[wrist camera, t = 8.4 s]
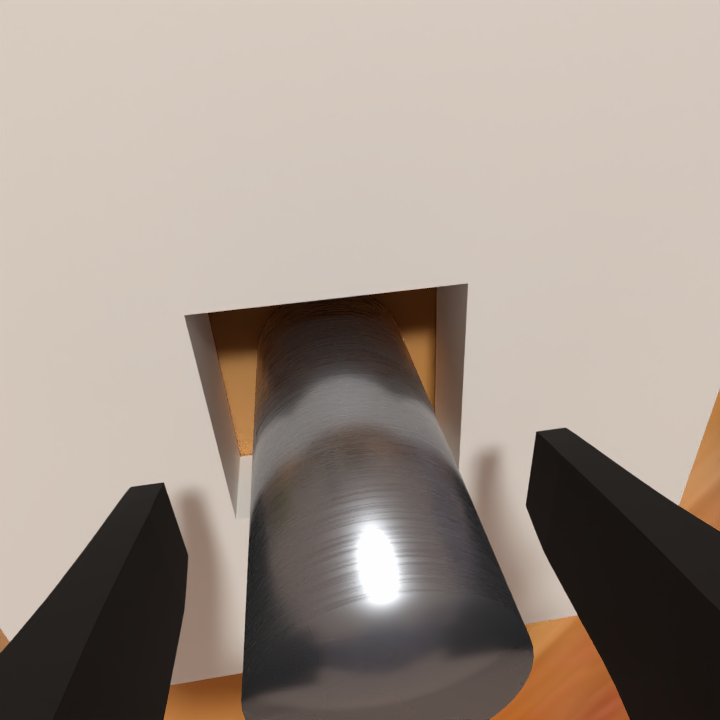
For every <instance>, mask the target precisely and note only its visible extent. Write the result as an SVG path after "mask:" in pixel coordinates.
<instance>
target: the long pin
mask: <svg viewBox="0 0 720 720" xmlns="http://www.w3.org/2000/svg"><path fill="white" fill-rule="evenodd" d="M533 658H534V655H533V645H532V642H531V639H530V636H529V634H528V632H527V629H526V627H525V625H524V622H523V620H522V618H521V615H520V613H519V610H518V608H517V606H516V603H515V601H514V599H513V596H512V594H511V592H510V589H509V587H508V585H507V582H506V580H505V578H504V575H503V573H502V570H501V568H500V566H499V563H498V561H497V559H496V556H495V554H494V552H493V549H492V547H491V545H490V542H489V540H488V538H487V535H486V533H485V530H484V528H483V526H482V523H481V521H480V519H479V516H478V514H477V512H476V509H475V507H474V505H473V502H472V500H471V498H470V495H469V493H468V490H467V488H466V486H465V483H464V481H463V479H462V476H461V474H460V472H459V469H458V467H457V465H456V462H455V460H454V458H453V455H452V453H451V450H450V448H449V446H448V443H447V441H446V439H445V436H444V434H443V432H442V429H441V427H440V425H439V422H438V420H437V417H436V415H435V413H434V410H433V408H432V406H431V403H430V401H429V399H428V396H427V394H426V392H425V389H424V387H423V385H422V382H421V380H420V377H419V375H418V373H417V370H416V368H415V366H414V363H413V361H412V359H411V356H410V354H409V352H408V349H407V347H406V345H405V342H404V340H403V337H402V335H401V333H400V330H399V328H398V326H397V324H396V322H395V320H394V318H393V317H392V315H391V314H390V313H389V311H388V310H387V309H386V308H385V307H384V306H383V305H382V304H380V303H379V302H378V301H376V300H375V299H373V298H371V297H370V296H368V295H360V296H351V297H342V298H333V299H325V300H316V301H307V302H298V303H289V304H283V305H282V306H281V307H280V308H279V309H277V310H276V311H275V312H274V313H273V315H272V316H271V317H270V318H269V320H268V321H267V323H266V325H265V326H264V328H263V330H262V333H261V335H260V339H259V343H258V351H257V370H256V392H255V414H254V436H253V458H252V480H251V501H250V523H249V545H248V567H247V589H246V611H245V632H244V654H243V676H242V698H241V702H242V711H243V714H244V717H245V719H246V720H489V719H490V718H492V717H493V716H495V715H496V714H497V713H498V712H500V711H501V710H502V709H503V708H505V707H506V706H507V705H508V704H509V703H510V702H511V701H512V700H513V699H514V698H515V696H516V695H517V694H518V692H519V691H520V690H521V689H522V687H523V686H524V684H525V682H526V680H527V679H528V677H529V674H530V671H531V669H532V664H533Z"/></svg>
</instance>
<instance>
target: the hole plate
mask: <svg viewBox="0 0 720 720" xmlns="http://www.w3.org/2000/svg"><path fill="white" fill-rule="evenodd" d="M431 287H437V317H436V374H435V415H436V417H437V420H438V422H439V425H440V427H441V429H442V432H443V434H444V436H445V439H446V441H447V443H448V446H449V448H450V450H451V453H452V455H453V458H454V460H455V462H456V465H457V467H458V469H459V472H460V474H461V476H462V479H463V481H464V483H465V486H466V488H467V490H468V493H469V495H470V498H471V500H472V502H473V505H474V507H475V509H476V512H477V514H478V516H479V519H480V521H481V523H482V526H483V528H484V530H485V533H486V535H487V538H488V540H489V542H490V545H491V547H492V549H493V552H494V554H495V556H496V559H497V561H498V563H499V566H500V568H501V570H502V573H503V575H504V578H505V580H506V582H507V585H508V587H509V589H510V592H511V594H512V596H513V599H514V601H515V603H516V606H517V608H518V610H519V613H520V615H521V618H522V620H523V622H524V624H530V623H535V622H541V621H547V620H553V619H559V618H564V617H570V616H576V615H577V613H576V611H575V609H574V607H573V605H572V604H571V602H570V600H569V598H568V596H567V594H566V593H565V591H564V589H563V587H562V585H561V583H560V582H559V580H558V578H557V576H556V574H555V572H554V570H553V569H552V567H551V565H550V563H549V561H548V559H547V557H546V555H545V553H544V551H543V549H542V546H541V544H540V541H539V539H538V537H537V534H536V532H535V529H534V526H533V524H532V521H531V519H530V516H529V513H528V511H527V508H526V499H527V492H528V485H529V478H530V471H531V464H532V457H533V450H534V443H535V436H536V431H544V430H551V429H558V428H567V429H569V430H570V431H572V432H573V433H575V434H576V435H578V436H579V437H581V438H582V439H583V440H585V441H586V442H588V443H589V444H591V445H592V446H593V447H595V448H596V449H598V450H599V451H600V452H602V453H603V454H605V455H606V456H607V457H609V458H610V459H611V460H613V461H614V462H616V463H617V464H619V465H620V466H621V467H623V468H624V469H626V470H627V471H628V472H630V473H631V474H633V475H634V476H636V477H637V478H638V479H640V480H641V481H643V482H644V483H646V484H647V485H648V486H650V487H651V488H653V489H654V490H656V491H657V492H659V493H660V494H662V495H663V496H665V497H666V498H668V499H669V500H671V501H672V502H674V503H675V504H677V505H678V506H679V503H680V501H681V498H682V495H683V492H684V489H685V486H686V483H687V481H688V478H689V475H690V472H691V469H692V466H693V463H694V461H695V458H696V455H697V452H698V449H699V446H700V443H701V440H702V438H703V435H704V432H705V429H706V426H707V423H708V420H709V418H710V415H711V412H712V409H713V406H714V403H715V400H716V398H717V395H718V392H719V389H720V0H0V628H1V630H2V631H3V633H4V634H5V636H6V637H7V639H8V640H9V642H10V641H11V640H12V639H13V638H14V637H15V635H16V634H17V633H18V632H19V631H20V629H21V628H22V627H23V626H24V625H25V623H26V622H27V621H28V620H29V619H30V617H31V616H32V615H33V614H34V613H35V611H36V610H37V609H38V608H39V607H40V605H41V604H42V603H43V602H44V601H45V599H46V598H47V597H48V596H49V594H50V593H51V592H52V591H53V589H54V588H55V587H56V585H57V584H58V583H59V582H60V580H61V579H62V578H63V576H64V575H65V574H66V572H67V571H68V570H69V569H70V567H71V566H72V565H73V563H74V562H75V561H76V559H77V558H78V557H79V556H80V554H81V553H82V552H83V550H84V549H85V547H86V546H87V545H88V543H89V542H90V541H91V539H92V538H93V537H94V535H95V534H96V533H97V531H98V530H99V528H100V527H101V526H102V524H103V523H104V522H105V520H106V519H107V517H108V516H109V515H110V513H111V512H112V510H113V509H114V508H115V506H116V505H117V504H118V502H119V501H120V499H121V498H122V497H123V495H124V494H125V493H126V492H127V490H128V489H129V488H130V487H133V486H141V485H148V484H155V483H163V482H164V484H165V487H166V490H167V493H168V496H169V499H170V502H171V505H172V508H173V511H174V514H175V517H176V520H177V523H178V526H179V529H180V532H181V535H182V538H183V541H184V544H185V547H186V550H187V553H188V571H187V587H186V599H185V610H184V615H183V621H182V626H181V632H180V637H179V642H178V647H177V653H176V658H175V663H174V668H173V673H172V678H171V683H170V685H176V684H181V683H187V682H193V681H199V680H205V679H210V678H216V677H222V676H228V675H234V674H239V673H243V654H244V632H245V611H246V589H247V567H248V545H249V523H250V501H251V480H252V458H253V455H249V456H241V457H240V453H239V448H238V444H237V439H236V435H235V431H234V426H233V422H232V417H231V413H230V409H229V404H228V400H227V396H226V391H225V387H224V382H223V378H222V374H221V369H220V365H219V360H218V356H217V352H216V347H215V343H214V338H213V334H212V330H211V325H210V321H209V317H208V313H209V312H218V311H227V310H236V309H245V308H254V307H262V306H271V305H280V304H289V303H298V302H307V301H316V300H325V299H333V298H342V297H351V296H360V295H369V294H378V293H387V292H396V291H404V290H413V289H422V288H431Z"/></svg>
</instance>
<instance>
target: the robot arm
mask: <svg viewBox="0 0 720 720" xmlns="http://www.w3.org/2000/svg"><path fill="white" fill-rule="evenodd" d="M526 508H527V511H528V513H529V516H530V519H531V521H532V524H533V526H534V529H535V532H536V534H537V537H538V539H539V541H540V544H541V546H542V549H543V551H544V553H545V555H546V557H547V559H548V561H549V563H550V565H551V567H552V569H553V570H554V572H555V574H556V576H557V578H558V580H559V582H560V583H561V585H562V587H563V589H564V591H565V593H566V594H567V596H568V598H569V600H570V602H571V604H572V605H573V607H574V609H575V611H576V613H577V615H578V616H579V618H580V620H581V622H582V624H583V625H584V627H585V629H586V631H587V633H588V635H589V636H590V638H591V640H592V642H593V644H594V646H595V647H596V649H597V651H598V653H599V655H600V656H601V658H602V660H603V662H604V664H605V666H606V668H607V670H608V672H609V674H610V676H611V678H612V680H613V682H614V684H615V686H616V688H617V690H618V693H619V695H620V697H621V700H622V702H623V704H624V707H625V709H626V711H627V713H628V716H629V718H630V720H720V531H718V530H716V529H715V528H713V527H712V526H710V525H708V524H707V523H705V522H704V521H702V520H700V519H699V518H697V517H695V516H694V515H692V514H691V513H689V512H688V511H686V510H684V509H683V508H681V507H680V506H678V505H677V504H675V503H674V502H672V501H671V500H669V499H668V498H666V497H665V496H663V495H662V494H660V493H659V492H657V491H656V490H654V489H653V488H651V487H650V486H648V485H647V484H646V483H644V482H643V481H641V480H640V479H638V478H637V477H636V476H634V475H633V474H631V473H630V472H628V471H627V470H626V469H624V468H623V467H621V466H620V465H619V464H617V463H616V462H614V461H613V460H611V459H610V458H609V457H607V456H606V455H605V454H603V453H602V452H600V451H599V450H598V449H596V448H595V447H593V446H592V445H591V444H589V443H588V442H586V441H585V440H583V439H582V438H581V437H579V436H578V435H576V434H575V433H573V432H572V431H570V430H569V429H567V428H558V429H551V430H544V431H536V436H535V443H534V450H533V457H532V464H531V471H530V478H529V485H528V492H527V499H526ZM187 571H188V553H187V550H186V547H185V544H184V541H183V538H182V535H181V532H180V529H179V526H178V523H177V520H176V517H175V514H174V511H173V508H172V505H171V502H170V499H169V496H168V493H167V490H166V487H165V484H164V482H163V483H155V484H148V485H141V486H133V487H130V488H129V489H128V490H127V492H126V493H125V494H124V495H123V497H122V498H121V499H120V501H119V502H118V504H117V505H116V506H115V508H114V509H113V510H112V512H111V513H110V515H109V516H108V517H107V519H106V520H105V522H104V523H103V524H102V526H101V527H100V528H99V530H98V531H97V533H96V534H95V535H94V537H93V538H92V539H91V541H90V542H89V543H88V545H87V546H86V547H85V549H84V550H83V552H82V553H81V554H80V556H79V557H78V558H77V559H76V561H75V562H74V563H73V565H72V566H71V567H70V569H69V570H68V571H67V572H66V574H65V575H64V576H63V578H62V579H61V580H60V582H59V583H58V584H57V585H56V587H55V588H54V589H53V591H52V592H51V593H50V594H49V596H48V597H47V598H46V599H45V601H44V602H43V603H42V604H41V605H40V607H39V608H38V609H37V610H36V611H35V613H34V614H33V615H32V616H31V617H30V619H29V620H28V621H27V622H26V623H25V625H24V626H23V627H22V628H21V629H20V631H19V632H18V633H17V634H16V635H15V637H14V638H13V639H12V640H11V641H10V643H9V644H8V645H7V646H6V647H5V648H4V650H3V651H2V652H1V653H0V720H163V719H164V714H165V709H166V704H167V699H168V694H169V689H170V683H171V678H172V673H173V668H174V663H175V658H176V653H177V647H178V642H179V637H180V632H181V626H182V621H183V615H184V610H185V599H186V587H187Z"/></svg>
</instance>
